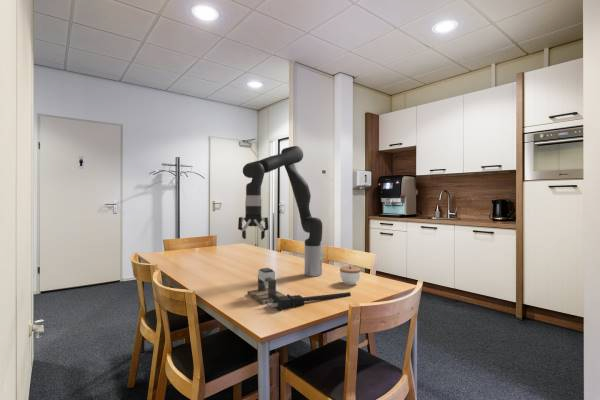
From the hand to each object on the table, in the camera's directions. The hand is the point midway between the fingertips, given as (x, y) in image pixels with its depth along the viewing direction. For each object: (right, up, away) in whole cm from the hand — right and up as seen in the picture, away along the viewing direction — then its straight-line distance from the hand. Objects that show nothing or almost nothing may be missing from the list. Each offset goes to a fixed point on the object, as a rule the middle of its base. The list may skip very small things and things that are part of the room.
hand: (253, 239), depth 151 cm
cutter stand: (+7, -26, -7) cm, 27 cm away
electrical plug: (+27, -26, -13) cm, 40 cm away
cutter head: (+7, -21, -7) cm, 23 cm away
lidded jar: (+49, -25, +16) cm, 57 cm away
